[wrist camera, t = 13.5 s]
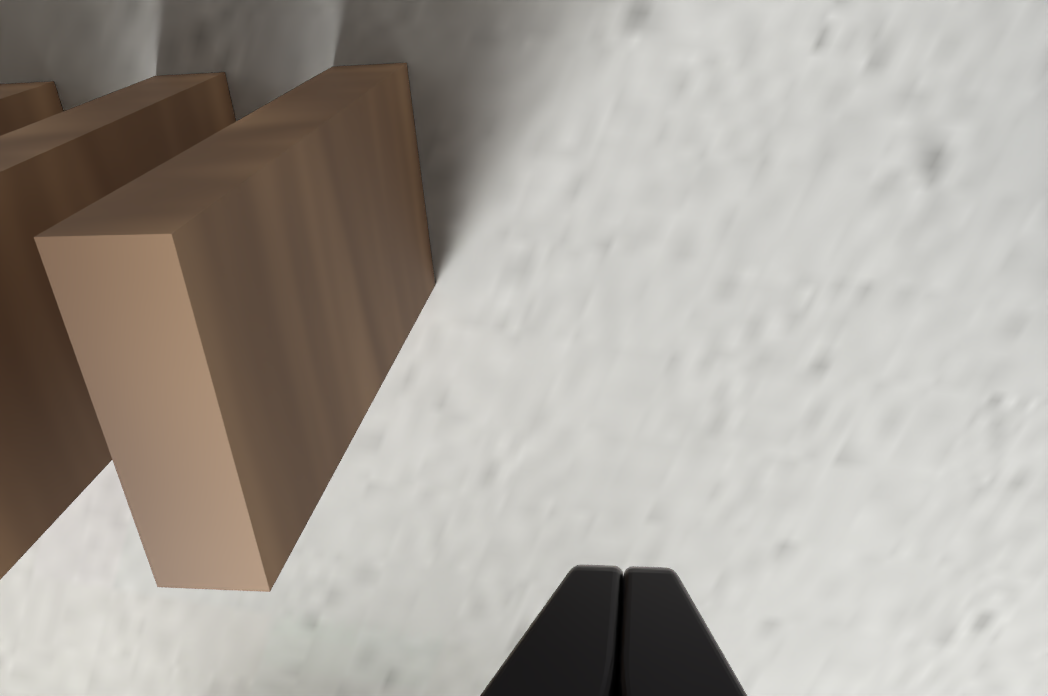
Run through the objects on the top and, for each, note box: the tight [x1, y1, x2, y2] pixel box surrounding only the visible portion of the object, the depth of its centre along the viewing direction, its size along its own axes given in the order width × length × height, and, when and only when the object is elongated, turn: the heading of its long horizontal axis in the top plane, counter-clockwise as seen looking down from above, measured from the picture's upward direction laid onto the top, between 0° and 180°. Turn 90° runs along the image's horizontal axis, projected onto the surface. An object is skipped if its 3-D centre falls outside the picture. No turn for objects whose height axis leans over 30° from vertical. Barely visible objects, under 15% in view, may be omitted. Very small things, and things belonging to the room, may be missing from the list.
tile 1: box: [34, 63, 435, 592], centre depth 15 cm, size 2×5×10 cm, turn 4°
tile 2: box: [0, 72, 236, 579], centre depth 15 cm, size 2×5×10 cm, turn 4°
